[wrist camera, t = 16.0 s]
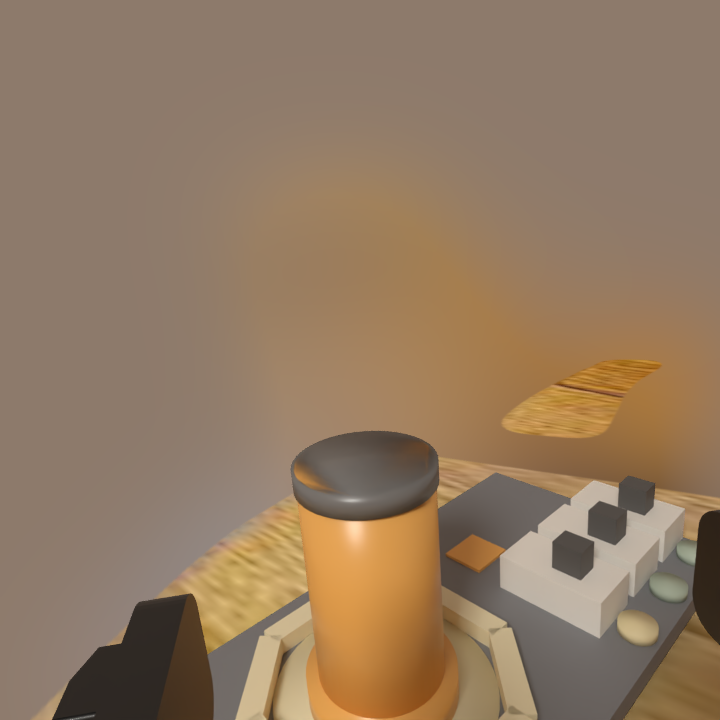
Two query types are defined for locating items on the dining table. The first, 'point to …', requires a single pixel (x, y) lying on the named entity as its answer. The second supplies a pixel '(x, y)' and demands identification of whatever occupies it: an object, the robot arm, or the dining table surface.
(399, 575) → the cap
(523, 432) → the dining table surface
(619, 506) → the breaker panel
